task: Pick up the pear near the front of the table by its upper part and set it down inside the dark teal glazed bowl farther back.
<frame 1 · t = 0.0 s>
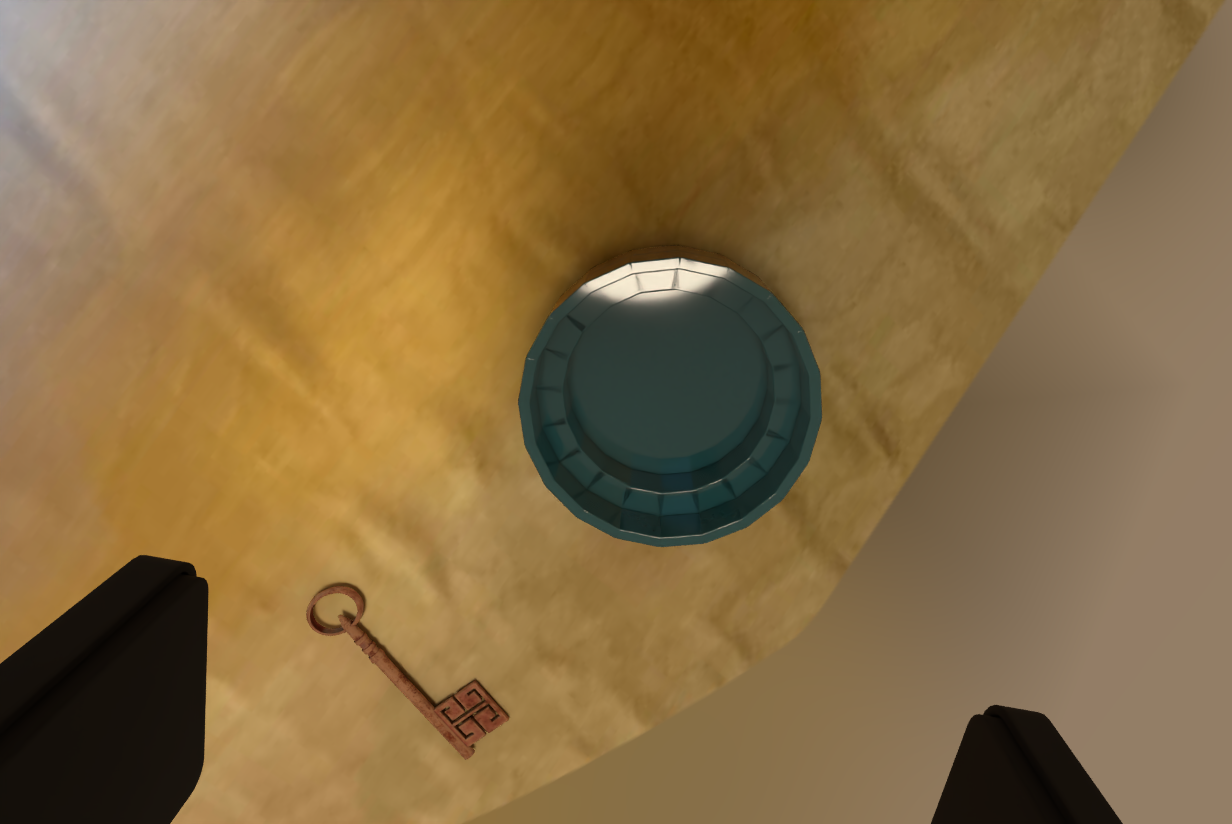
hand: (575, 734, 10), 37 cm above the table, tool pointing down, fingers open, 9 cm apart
bowl: (666, 379, 47), on the table
key: (410, 663, 54), on the table
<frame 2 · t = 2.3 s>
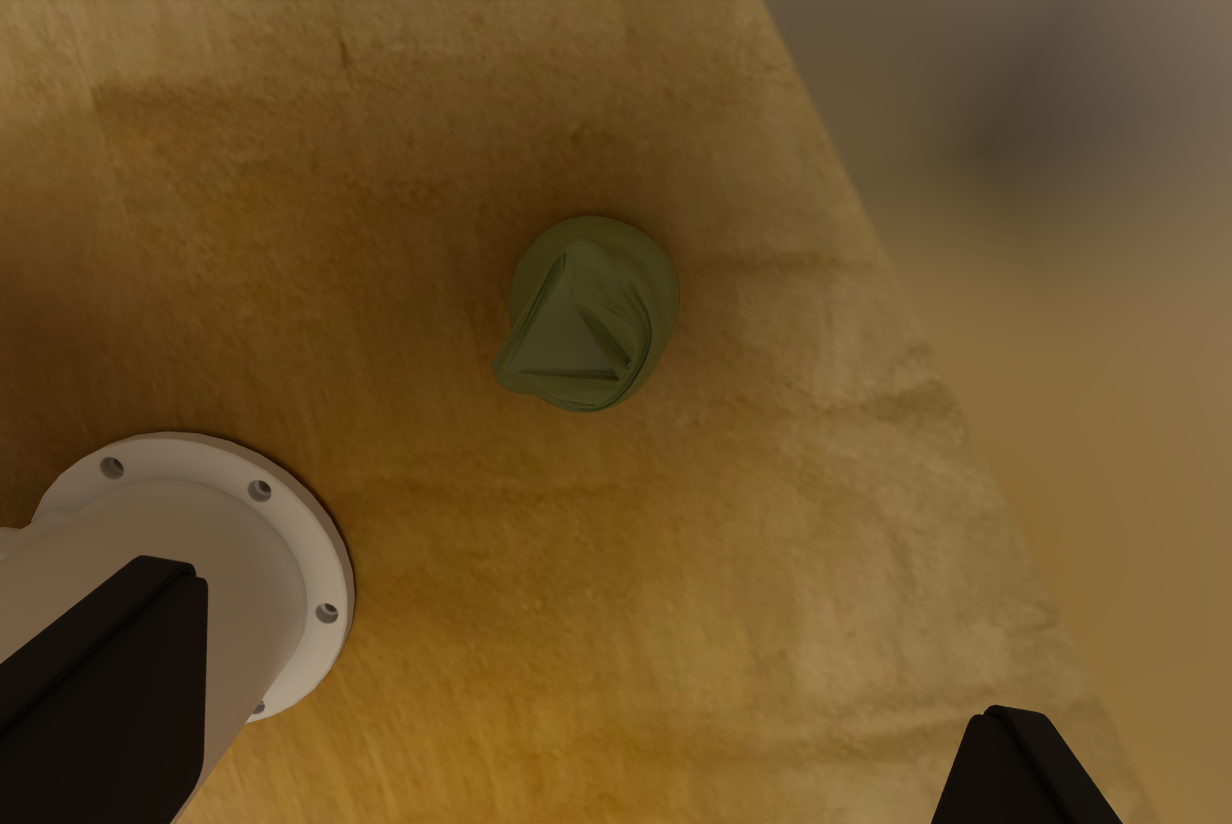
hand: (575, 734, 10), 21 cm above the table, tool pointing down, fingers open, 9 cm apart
pear: (596, 288, 29), on the table
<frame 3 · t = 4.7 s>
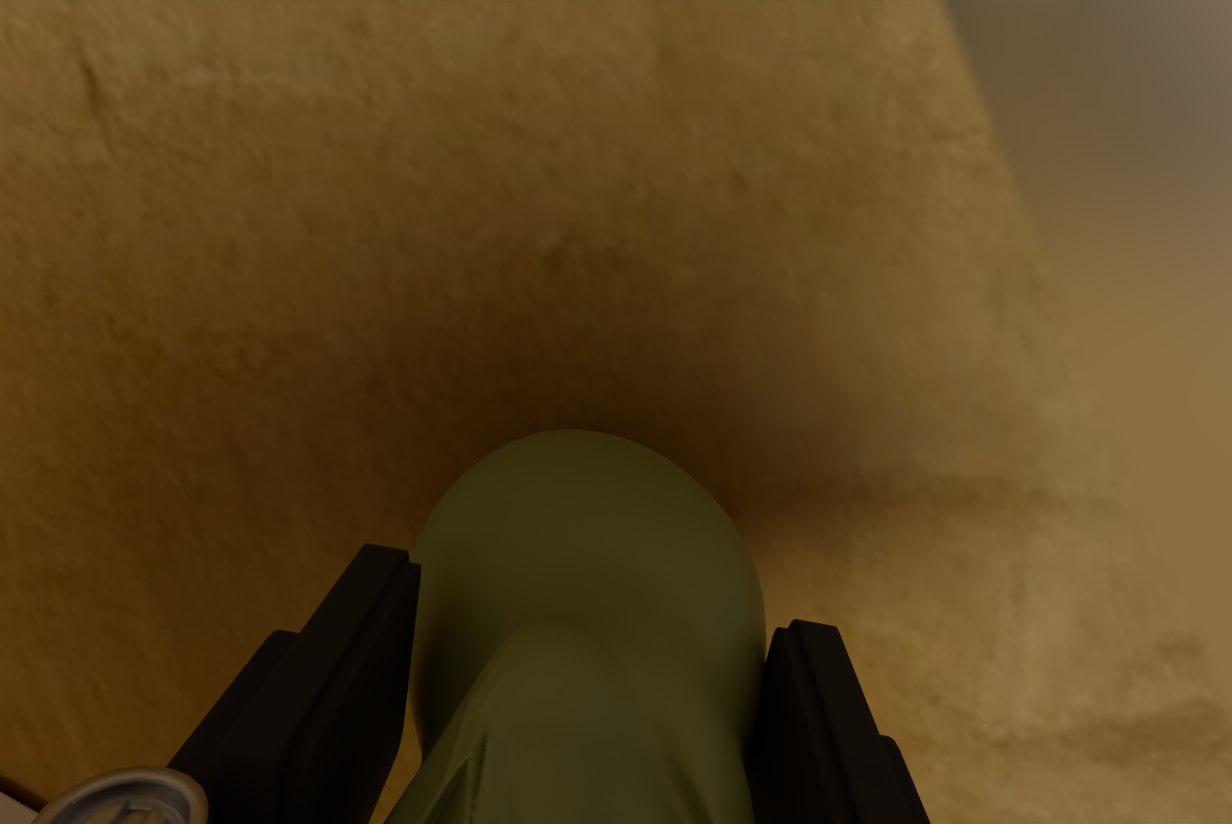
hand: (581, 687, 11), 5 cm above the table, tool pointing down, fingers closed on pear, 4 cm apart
pear: (585, 525, 16), on the table, touching gripper
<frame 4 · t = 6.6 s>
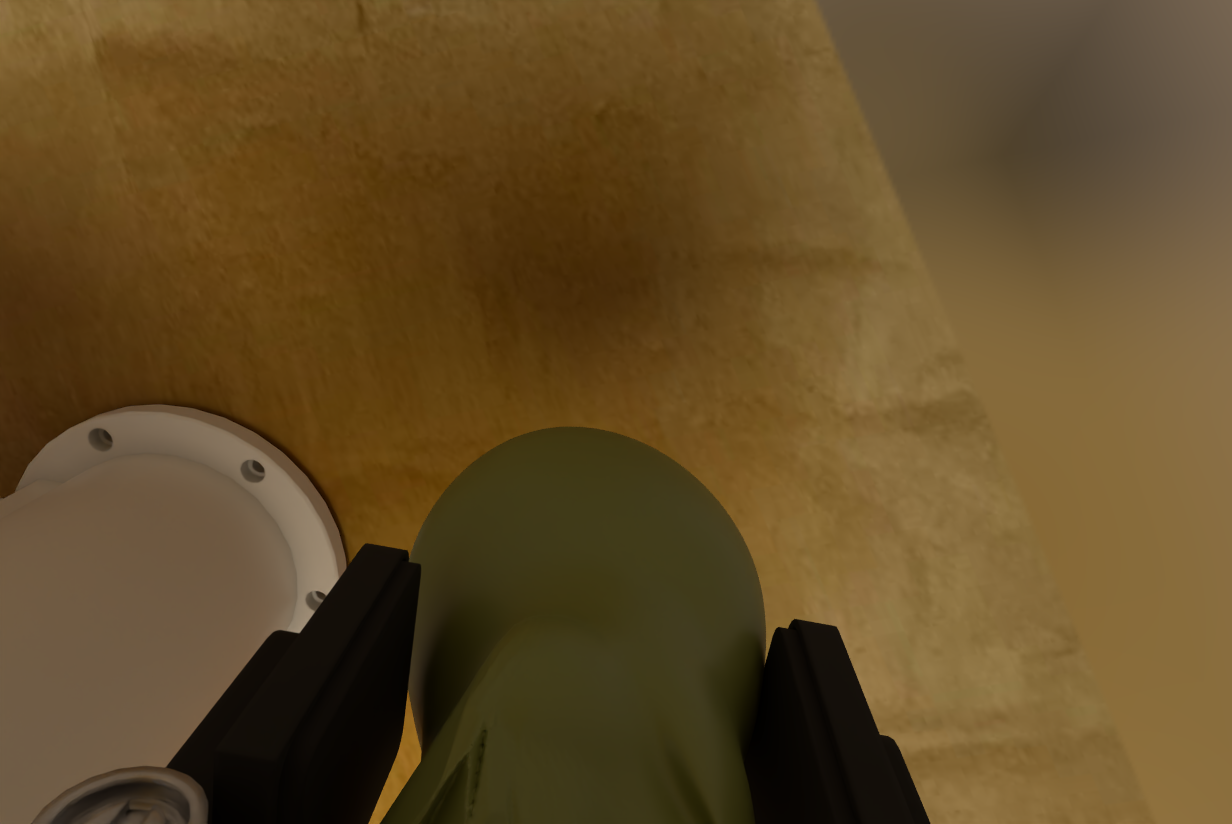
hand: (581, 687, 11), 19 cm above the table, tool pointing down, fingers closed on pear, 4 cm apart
pear: (585, 523, 16), point 13 cm above the table, touching gripper
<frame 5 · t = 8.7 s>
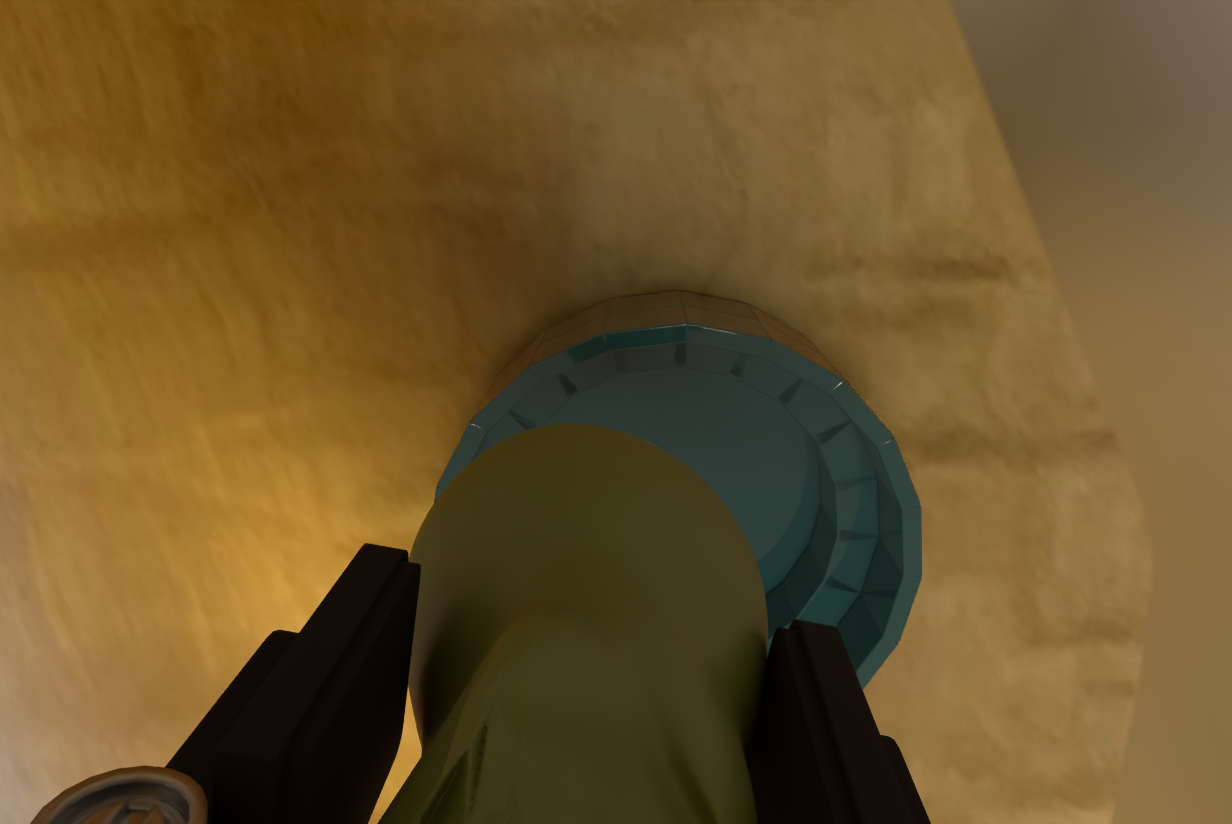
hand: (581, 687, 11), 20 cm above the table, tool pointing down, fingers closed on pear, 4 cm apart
pear: (586, 520, 16), point 14 cm above the table, touching gripper
bowl: (667, 489, 31), on the table
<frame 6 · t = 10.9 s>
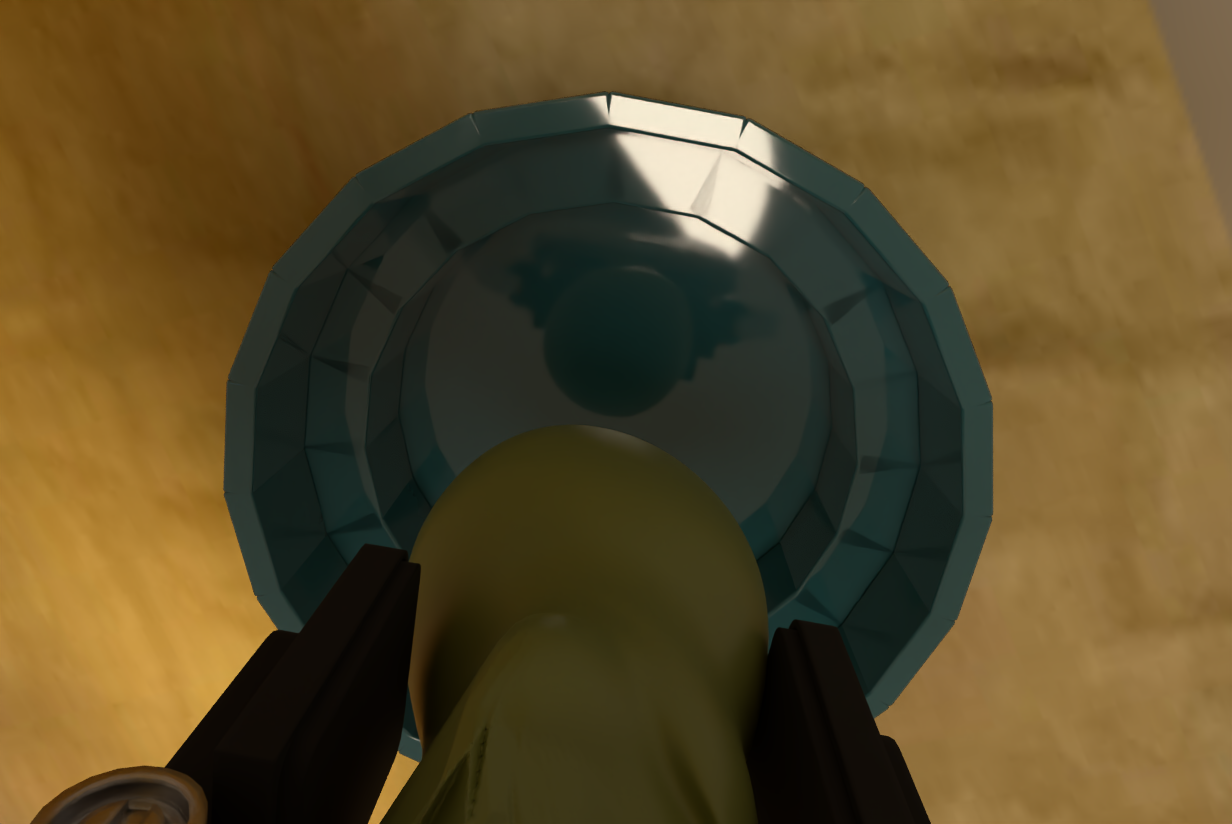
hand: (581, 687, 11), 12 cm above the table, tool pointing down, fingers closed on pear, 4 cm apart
pear: (586, 521, 16), point 7 cm above the table, touching gripper
bowl: (614, 412, 22), on the table
when the fingers open (6 cm above the table, at t = 12.8 s): pear stays where it is, resting on bowl.
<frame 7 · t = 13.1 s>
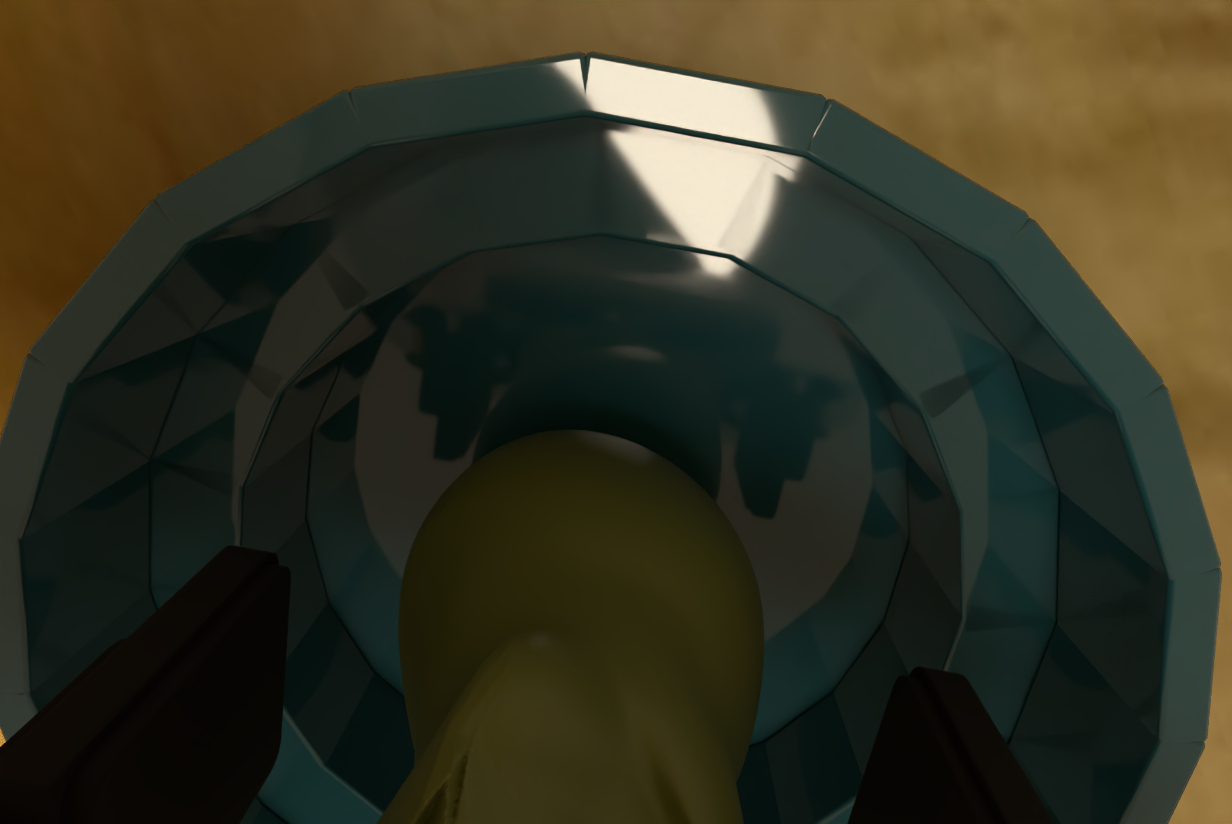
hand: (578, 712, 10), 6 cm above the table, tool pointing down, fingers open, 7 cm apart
pear: (586, 523, 16), resting on bowl
bowl: (605, 515, 16), on the table
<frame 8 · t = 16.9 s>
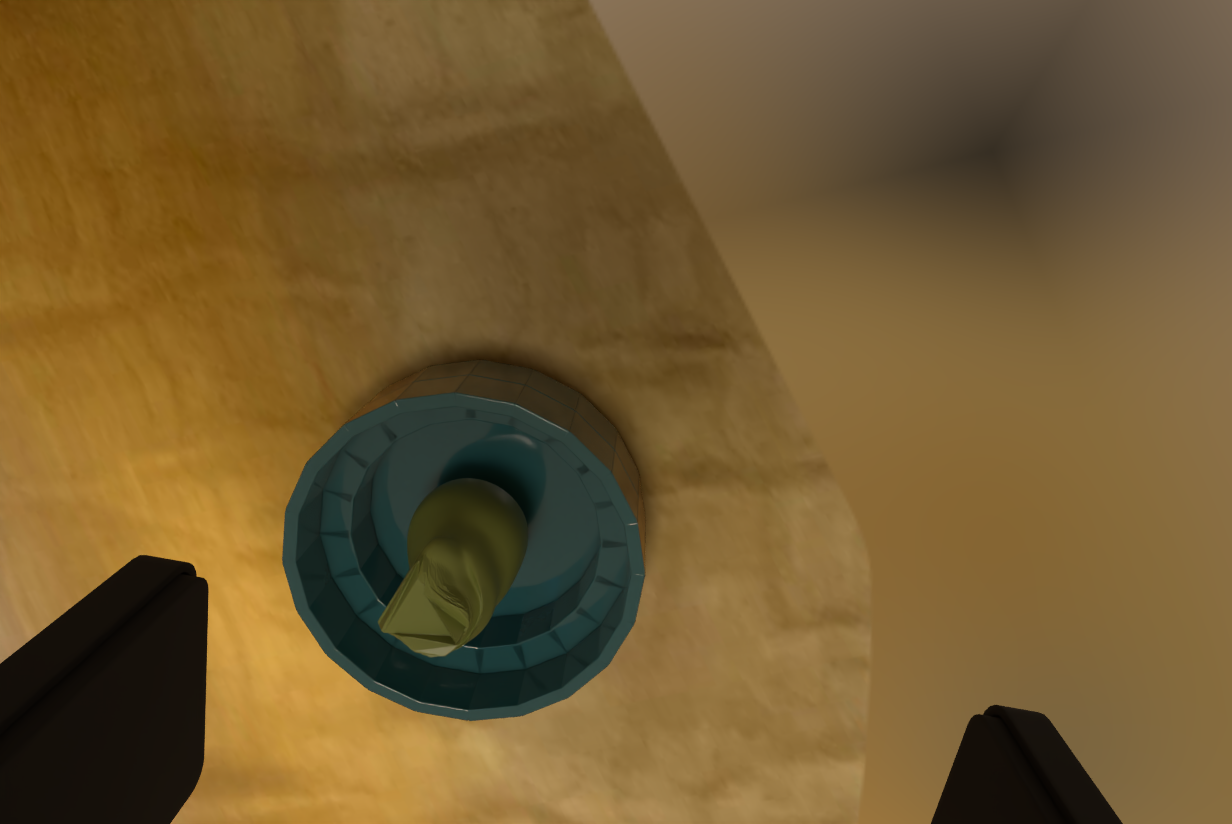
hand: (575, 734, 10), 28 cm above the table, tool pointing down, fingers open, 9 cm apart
pear: (480, 512, 40), resting on bowl
bowl: (488, 508, 40), on the table
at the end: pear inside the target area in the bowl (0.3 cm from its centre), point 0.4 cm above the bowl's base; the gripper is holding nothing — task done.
